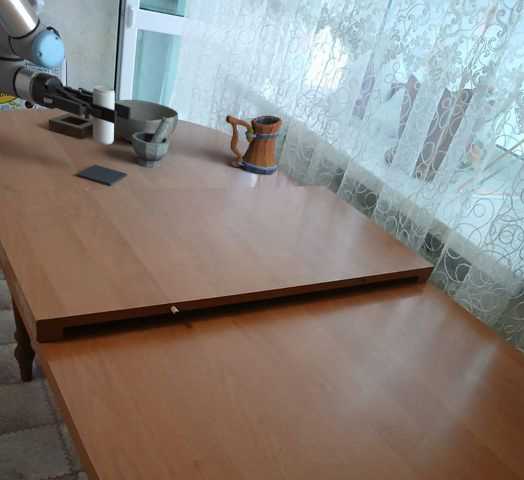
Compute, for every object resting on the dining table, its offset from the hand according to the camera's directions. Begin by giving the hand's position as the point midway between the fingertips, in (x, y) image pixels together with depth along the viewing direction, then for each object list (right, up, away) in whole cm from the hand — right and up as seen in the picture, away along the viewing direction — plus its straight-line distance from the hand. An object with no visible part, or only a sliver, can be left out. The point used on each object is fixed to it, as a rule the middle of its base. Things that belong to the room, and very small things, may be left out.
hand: (122, 115), depth 126 cm
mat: (-8, -11, +10) cm, 17 cm away
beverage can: (-6, -4, +6) cm, 9 cm away
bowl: (-4, +8, +37) cm, 38 cm away
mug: (+28, 0, +37) cm, 46 cm away
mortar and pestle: (+2, -3, +25) cm, 25 cm away
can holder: (-23, +10, +34) cm, 42 cm away
